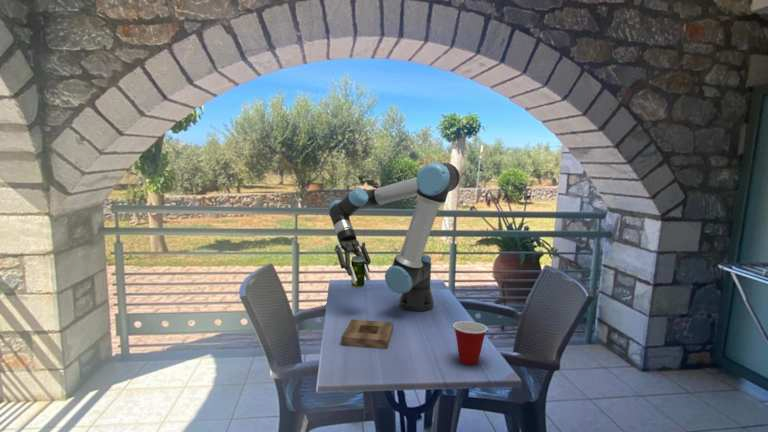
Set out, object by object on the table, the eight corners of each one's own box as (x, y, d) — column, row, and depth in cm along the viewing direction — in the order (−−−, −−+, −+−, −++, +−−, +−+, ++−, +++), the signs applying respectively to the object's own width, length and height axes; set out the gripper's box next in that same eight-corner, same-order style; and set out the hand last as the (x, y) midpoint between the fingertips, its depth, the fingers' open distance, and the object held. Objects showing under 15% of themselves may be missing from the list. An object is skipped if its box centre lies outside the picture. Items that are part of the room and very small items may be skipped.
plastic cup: (487, 356, 138) (489, 321, 136) (484, 371, 127) (486, 334, 126) (454, 350, 141) (456, 317, 139) (448, 365, 131) (450, 329, 129)
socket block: (393, 329, 158) (393, 322, 157) (387, 348, 142) (387, 340, 142) (351, 326, 160) (351, 319, 160) (341, 345, 144) (341, 336, 144)
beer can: (358, 283, 174) (358, 255, 172) (367, 286, 171) (367, 257, 168) (348, 286, 170) (348, 257, 168) (357, 289, 167) (358, 260, 165)
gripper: (361, 235, 185) (378, 282, 174) (322, 239, 176) (338, 288, 165) (367, 226, 180) (385, 273, 168) (327, 229, 171) (343, 279, 159)
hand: (362, 281), depth 167 cm, fingers closed on beer can, 5 cm apart
